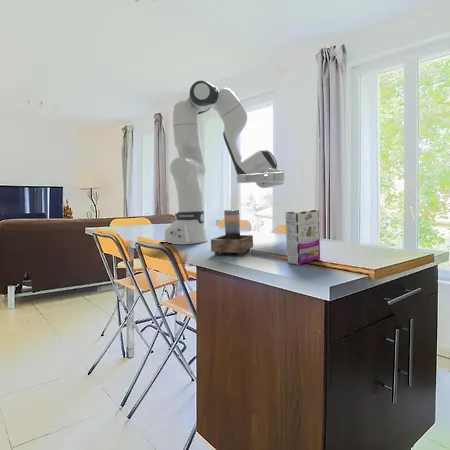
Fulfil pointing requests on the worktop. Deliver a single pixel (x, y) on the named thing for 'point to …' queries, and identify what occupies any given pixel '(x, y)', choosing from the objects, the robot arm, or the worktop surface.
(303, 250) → the candy bar box
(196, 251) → the worktop surface
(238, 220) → the slate tin
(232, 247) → the caster cart
